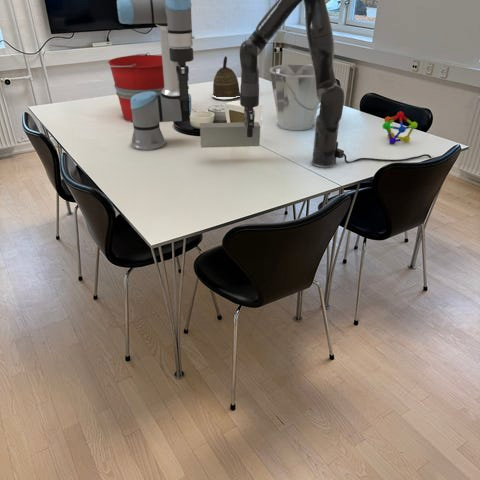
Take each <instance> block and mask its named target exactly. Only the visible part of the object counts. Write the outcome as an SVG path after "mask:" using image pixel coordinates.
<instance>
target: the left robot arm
mask: <svg viewBox="0 0 480 480" xmlns="http://www.w3.org/2000/svg"><path fill="white" fill-rule="evenodd" d="M116 8H117V16H118V21H119V24H122V25H141V24H155V26H156V27H157V28H158V29H159V36H160V37H159V38H160V49H161V56H162V63H163V76H164V88H163V89H162V91H161V95H157V94H156V92H153V91H152V92H150V91H148V92H142V93H138V94H136V95H134V96H133V97H132V98H131V109H132V117H133V122H132V125H133V132H132V135H131V147H132V148H134V149H135V150H141V151H151V150H153V151H154V150H157V149H161V148H163V147H164V146H165V144H166V140H165V137H164V135H163V132H162V130H161V127H160V123H167V122H168V123H169V122H187V121H191V113H192V95H191V94H190V93H189V89H190V87H189V83H188V82H189V78H190V77H189V73H190V68H189V65H187V63H190V62H192V61H194V48H193V40H194V39H195V35H193V24H192V23H193V22H192V21H193V20H192V1H191V0H116Z"/></svg>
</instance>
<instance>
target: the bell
mask: <svg viewBox="0 0 480 480" xmlns="http://www.w3.org/2000/svg"><path fill="white" fill-rule="evenodd" d="M227 63H228V57H227V56H224V58H223V63H222V67H221V68H219V69H218V70H217V71H216V73H215V75H214V78H213V81H212V83H213V84H212V95H214V96H216V97H236V96H240V83H239V80H238V79H239V78H238V77H237V75H236V73H235V72H234V70H232V69H231V68H230V67H227Z"/></svg>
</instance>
